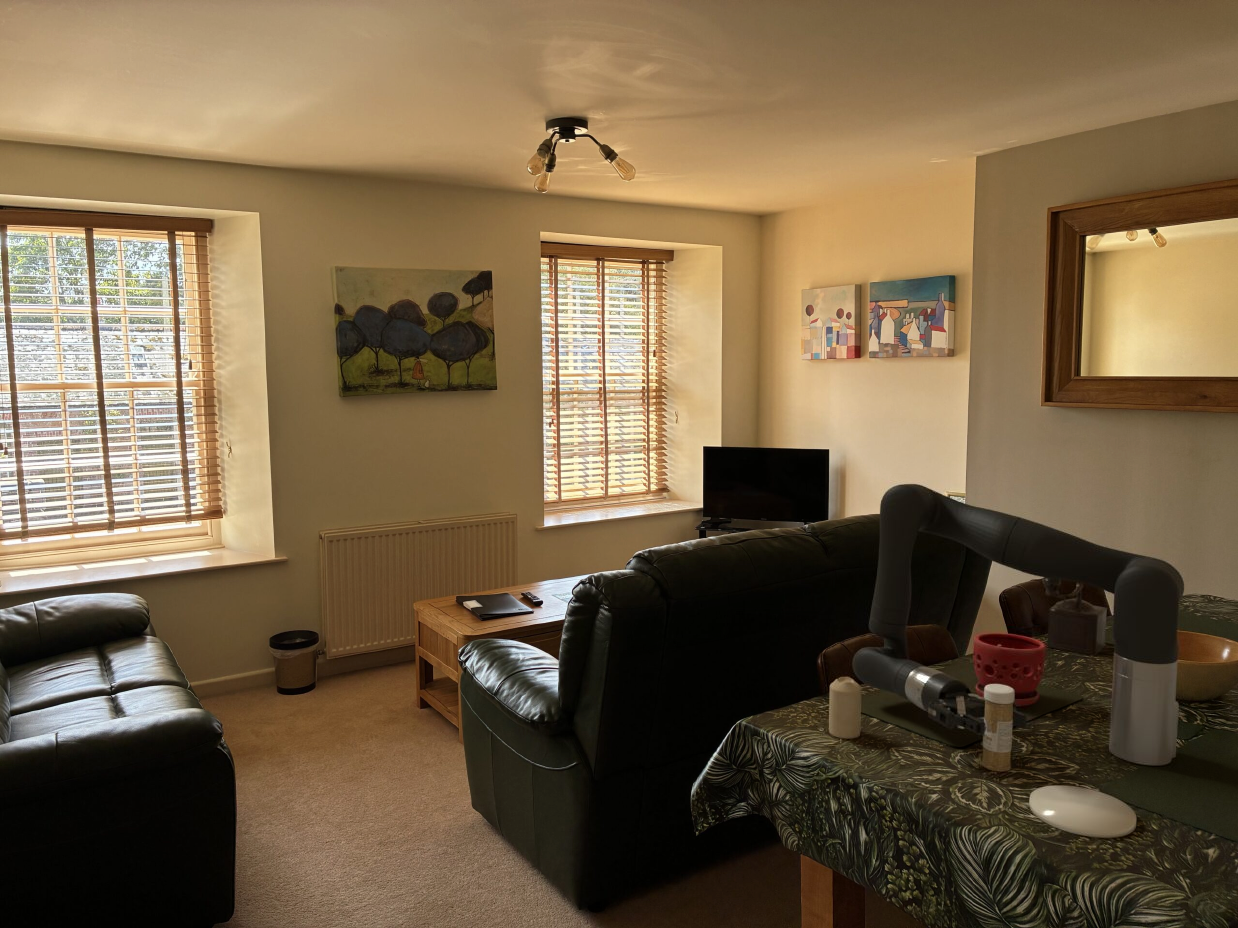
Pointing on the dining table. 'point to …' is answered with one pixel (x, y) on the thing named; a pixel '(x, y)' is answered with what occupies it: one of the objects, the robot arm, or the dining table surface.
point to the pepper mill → (1074, 622)
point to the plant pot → (1009, 664)
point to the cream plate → (1082, 811)
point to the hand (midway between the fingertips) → (1004, 725)
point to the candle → (845, 708)
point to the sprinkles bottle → (998, 727)
